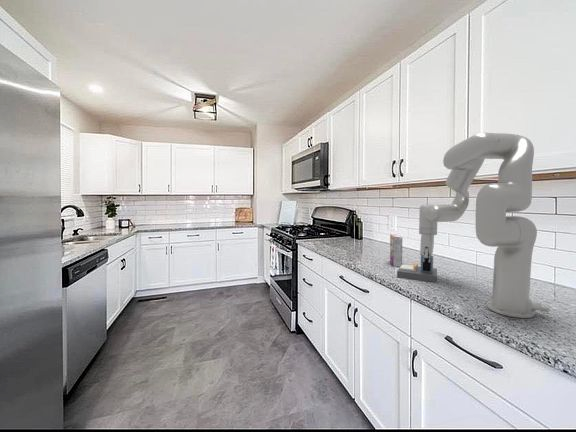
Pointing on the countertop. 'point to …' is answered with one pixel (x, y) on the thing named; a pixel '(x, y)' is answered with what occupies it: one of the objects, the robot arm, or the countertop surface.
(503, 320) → the countertop surface
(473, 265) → the countertop surface
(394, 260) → the candy bar box
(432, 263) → the plug
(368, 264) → the countertop surface
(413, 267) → the shutter
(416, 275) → the socket
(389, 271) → the countertop surface
